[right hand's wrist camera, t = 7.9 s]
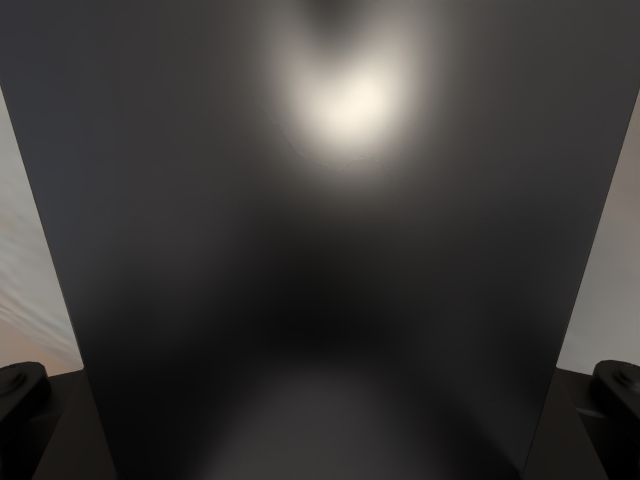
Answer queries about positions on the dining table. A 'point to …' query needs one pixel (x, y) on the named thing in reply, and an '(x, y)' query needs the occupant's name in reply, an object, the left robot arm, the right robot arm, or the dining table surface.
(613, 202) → the dining table surface
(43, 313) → the dining table surface
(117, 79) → the box
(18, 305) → the dining table surface
